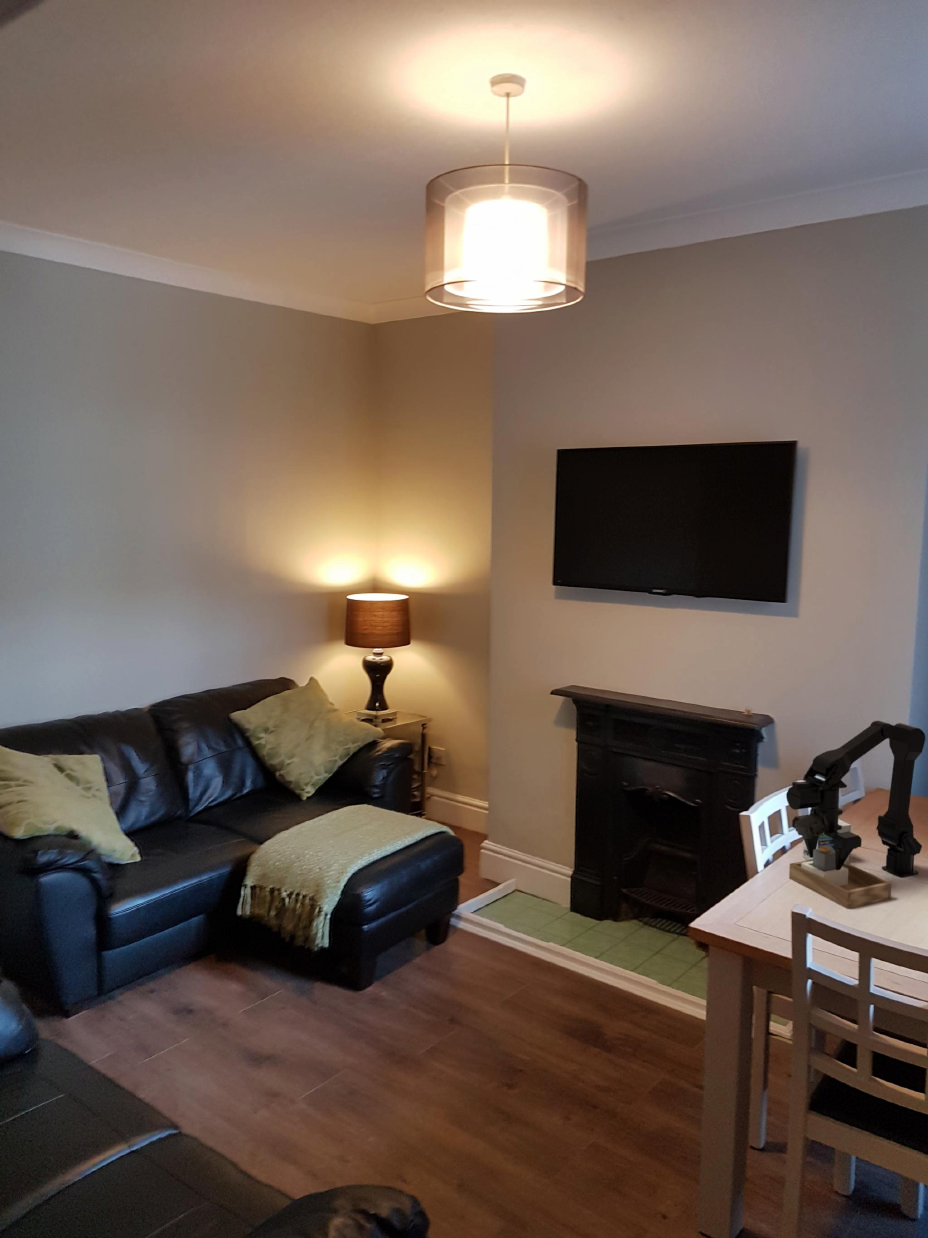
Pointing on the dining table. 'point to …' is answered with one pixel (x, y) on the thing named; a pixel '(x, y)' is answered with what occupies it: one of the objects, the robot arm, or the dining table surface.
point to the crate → (844, 886)
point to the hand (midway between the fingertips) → (824, 863)
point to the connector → (824, 858)
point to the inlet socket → (829, 873)
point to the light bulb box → (827, 840)
